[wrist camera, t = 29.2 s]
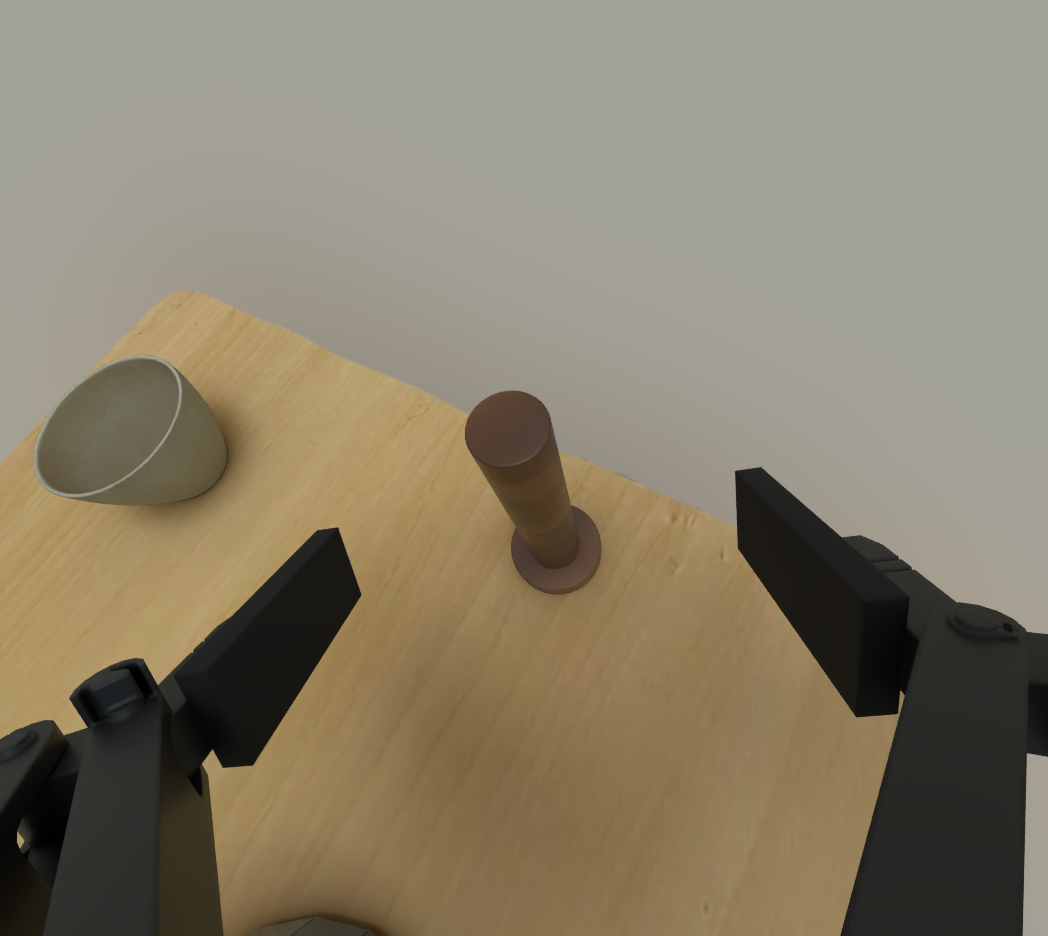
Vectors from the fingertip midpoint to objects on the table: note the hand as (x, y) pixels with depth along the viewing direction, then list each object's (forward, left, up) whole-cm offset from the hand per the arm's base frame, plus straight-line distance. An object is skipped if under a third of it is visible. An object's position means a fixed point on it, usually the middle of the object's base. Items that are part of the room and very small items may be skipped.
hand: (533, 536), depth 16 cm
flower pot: (+29, +2, -13) cm, 32 cm away
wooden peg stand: (+2, -2, -13) cm, 13 cm away
